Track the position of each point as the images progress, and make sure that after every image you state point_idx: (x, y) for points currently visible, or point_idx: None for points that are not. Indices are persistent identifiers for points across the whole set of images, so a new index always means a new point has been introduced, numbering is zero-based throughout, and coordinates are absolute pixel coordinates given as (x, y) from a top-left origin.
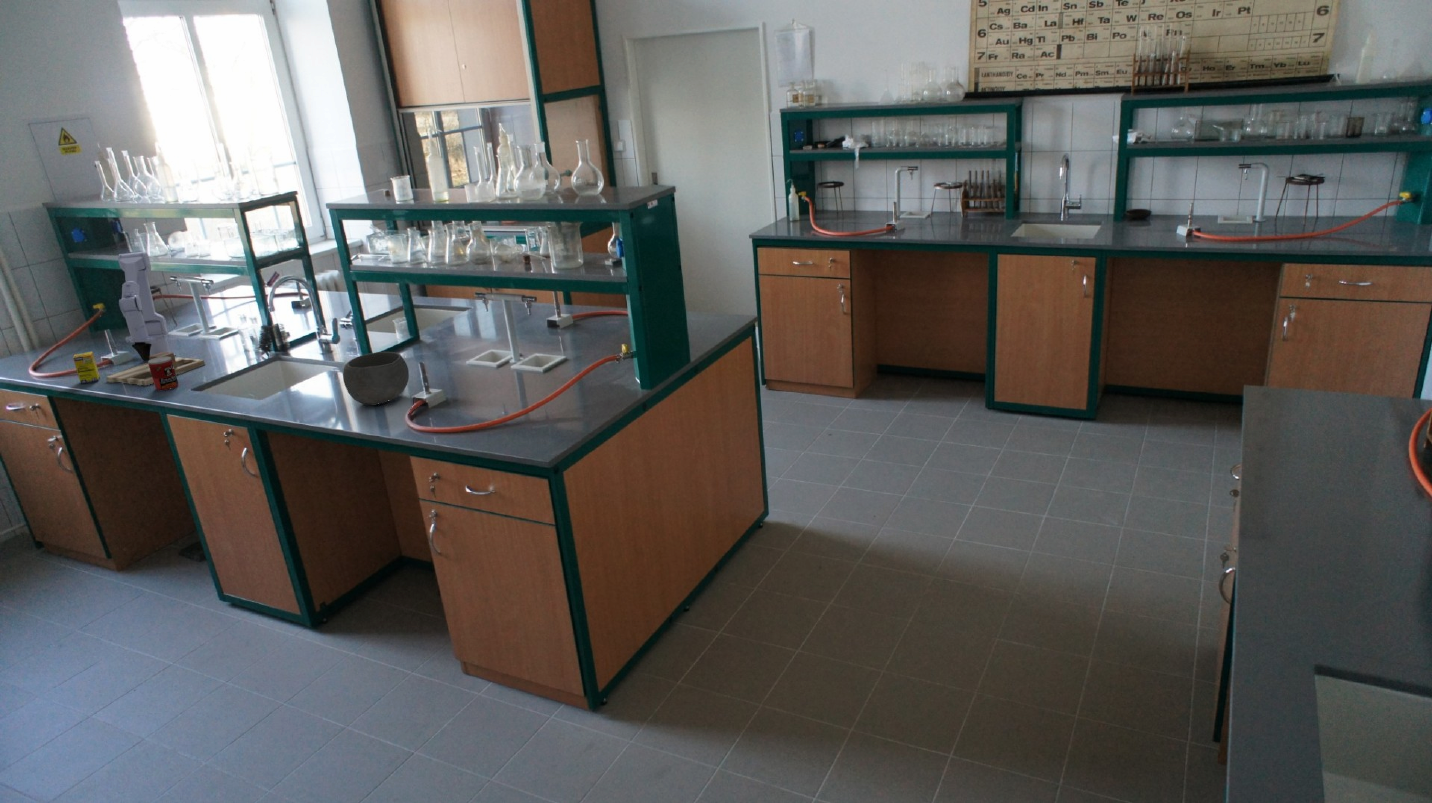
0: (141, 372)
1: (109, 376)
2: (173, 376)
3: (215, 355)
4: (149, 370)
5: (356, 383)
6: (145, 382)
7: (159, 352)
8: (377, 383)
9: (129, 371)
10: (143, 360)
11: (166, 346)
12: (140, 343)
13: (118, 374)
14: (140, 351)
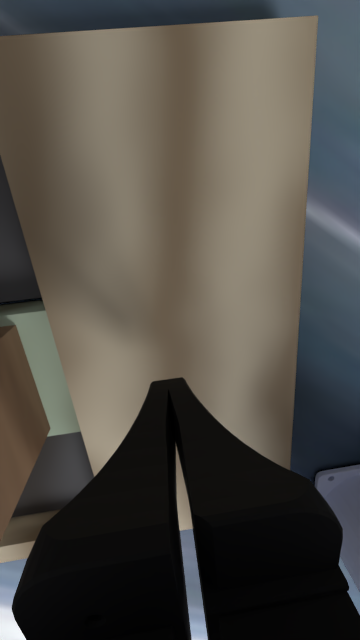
0: (78, 261)
1: (284, 43)
2: None
3: None
4: (68, 321)
5: None
6: None
7: (353, 525)
8: None
9: (225, 238)
10: (175, 379)
11: (355, 583)
12: (165, 636)
13: (247, 134)
14: (151, 449)
